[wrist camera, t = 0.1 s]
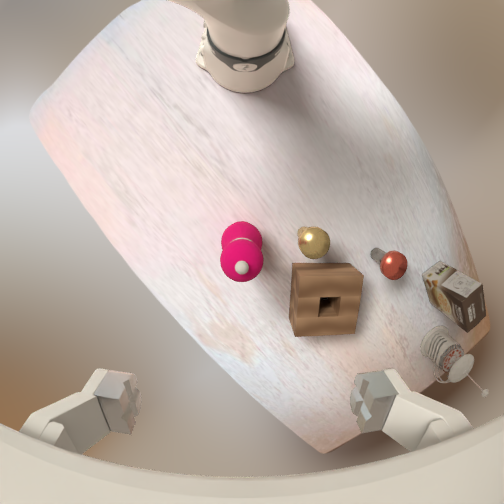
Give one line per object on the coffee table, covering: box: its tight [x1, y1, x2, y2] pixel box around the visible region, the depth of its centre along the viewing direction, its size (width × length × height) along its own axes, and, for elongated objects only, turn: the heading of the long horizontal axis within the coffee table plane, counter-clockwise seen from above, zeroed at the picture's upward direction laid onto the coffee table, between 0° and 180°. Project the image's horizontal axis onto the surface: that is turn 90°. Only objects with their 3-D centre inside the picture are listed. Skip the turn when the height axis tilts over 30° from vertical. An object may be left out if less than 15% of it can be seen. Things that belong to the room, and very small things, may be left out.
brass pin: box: [298, 227, 330, 259], centre depth 53 cm, size 5×5×9 cm
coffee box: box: [422, 261, 486, 333], centre depth 54 cm, size 9×6×16 cm
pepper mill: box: [220, 221, 263, 282], centre depth 48 cm, size 7×7×20 cm
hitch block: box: [289, 263, 364, 337], centre depth 57 cm, size 12×12×8 cm
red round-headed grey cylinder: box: [371, 248, 407, 280], centre depth 55 cm, size 5×5×9 cm
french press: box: [420, 326, 489, 397], centre depth 54 cm, size 10×12×25 cm
